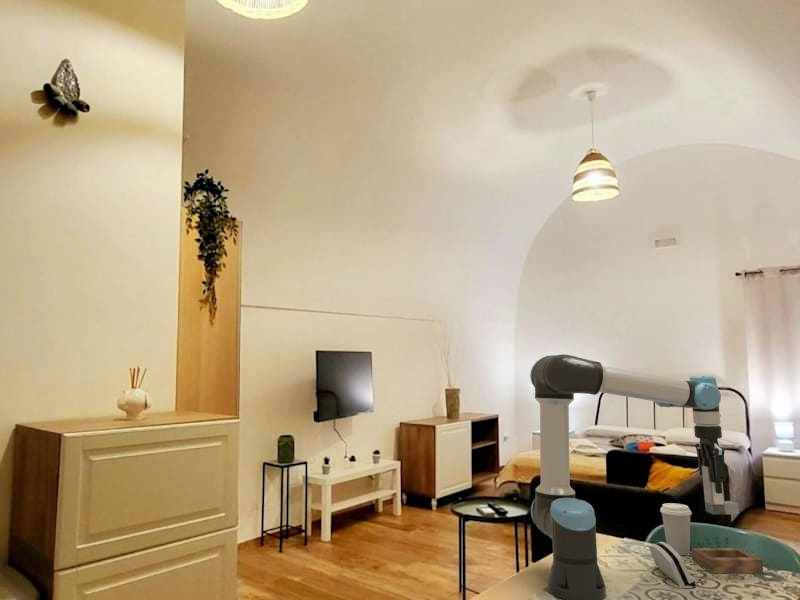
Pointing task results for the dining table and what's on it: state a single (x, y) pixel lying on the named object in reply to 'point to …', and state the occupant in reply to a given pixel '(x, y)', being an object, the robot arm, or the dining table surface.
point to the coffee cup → (677, 526)
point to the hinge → (671, 563)
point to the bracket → (712, 508)
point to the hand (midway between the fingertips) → (714, 502)
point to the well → (727, 560)
